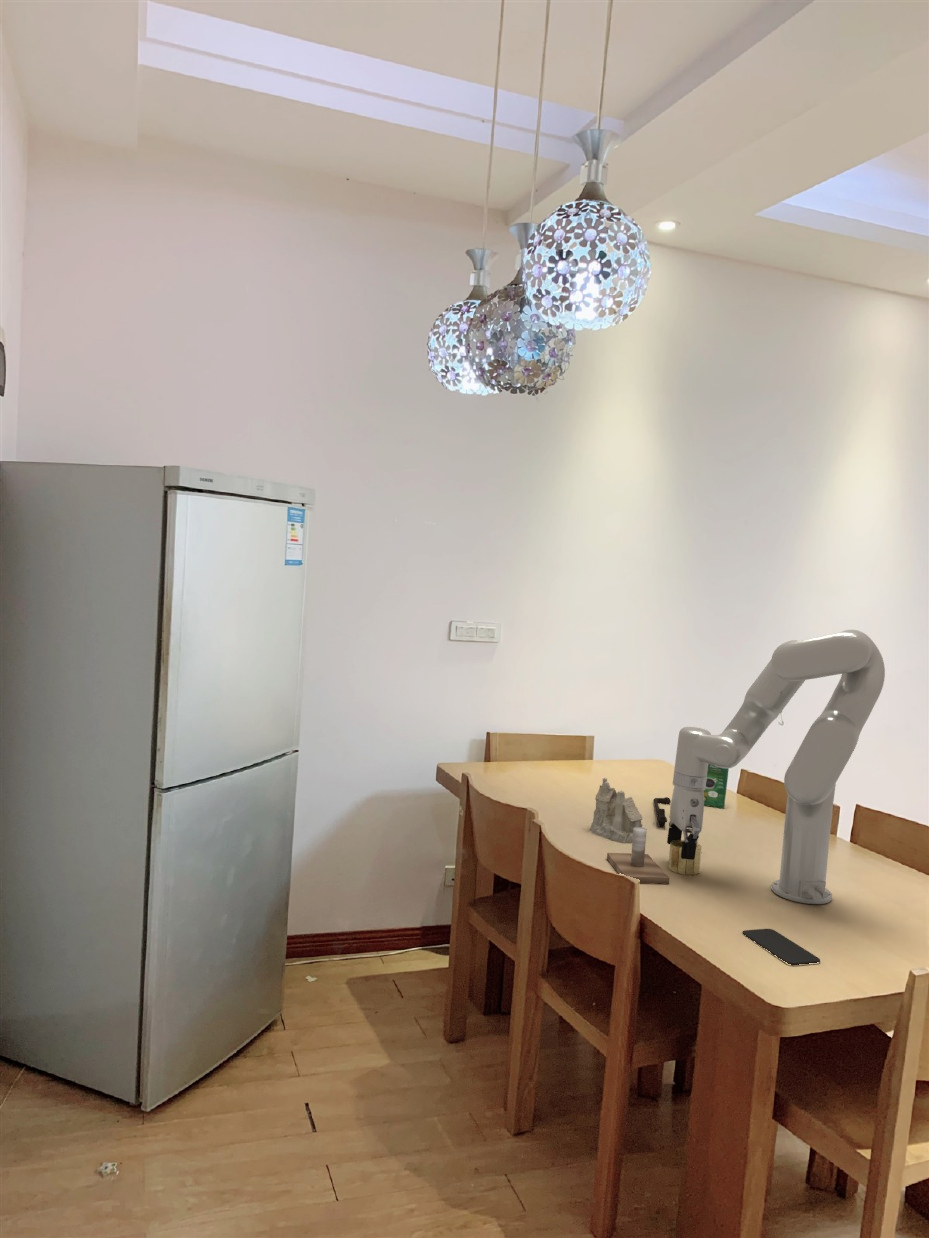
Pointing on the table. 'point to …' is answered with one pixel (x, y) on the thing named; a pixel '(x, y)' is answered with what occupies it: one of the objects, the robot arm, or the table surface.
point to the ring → (683, 864)
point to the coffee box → (715, 786)
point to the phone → (781, 946)
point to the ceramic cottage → (615, 815)
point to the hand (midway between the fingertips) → (680, 851)
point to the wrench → (661, 810)
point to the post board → (638, 861)
